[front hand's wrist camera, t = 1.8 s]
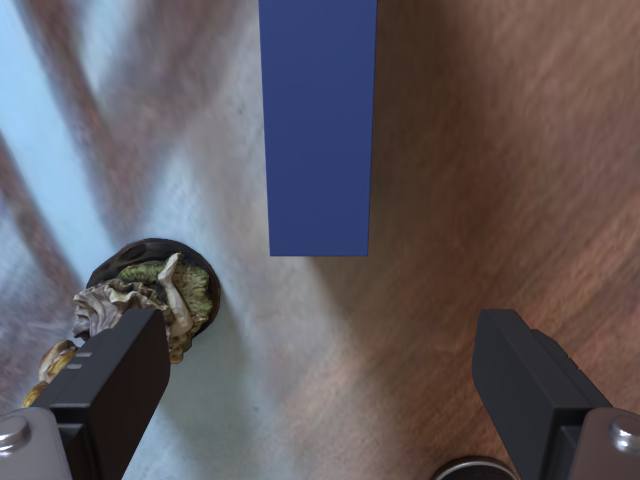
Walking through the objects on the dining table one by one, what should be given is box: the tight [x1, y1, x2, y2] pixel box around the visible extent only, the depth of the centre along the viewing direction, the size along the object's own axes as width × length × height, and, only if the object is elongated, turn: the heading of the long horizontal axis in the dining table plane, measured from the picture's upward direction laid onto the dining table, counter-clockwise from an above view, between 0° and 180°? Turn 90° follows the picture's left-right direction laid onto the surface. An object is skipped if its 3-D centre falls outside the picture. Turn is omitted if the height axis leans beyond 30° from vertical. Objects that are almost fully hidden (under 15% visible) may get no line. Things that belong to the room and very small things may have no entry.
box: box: [258, 0, 377, 256], centre depth 27 cm, size 28×6×10 cm, turn 0°
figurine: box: [21, 238, 220, 408], centre depth 32 cm, size 12×11×15 cm
